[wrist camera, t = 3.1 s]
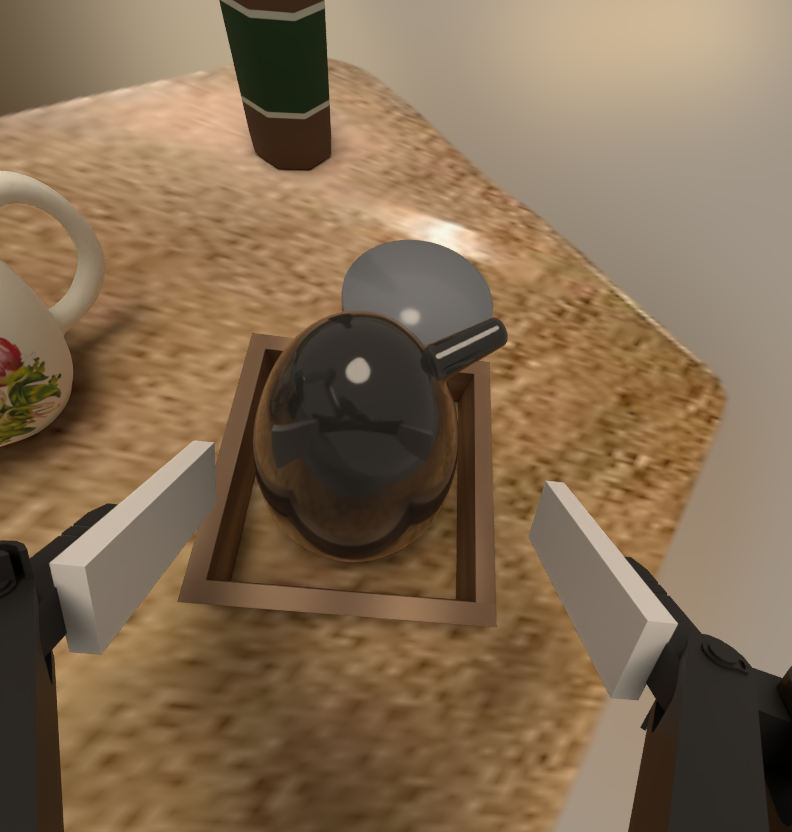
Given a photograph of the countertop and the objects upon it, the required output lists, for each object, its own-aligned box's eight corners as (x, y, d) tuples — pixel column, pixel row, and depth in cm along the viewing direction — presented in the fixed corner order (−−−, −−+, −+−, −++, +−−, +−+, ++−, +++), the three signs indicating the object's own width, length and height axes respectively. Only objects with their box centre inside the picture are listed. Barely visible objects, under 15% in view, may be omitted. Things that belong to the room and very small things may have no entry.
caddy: (207, 599, 21) (177, 602, 18) (265, 366, 27) (252, 333, 24) (473, 620, 22) (496, 627, 19) (472, 390, 28) (489, 362, 25)
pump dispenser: (463, 526, 24) (609, 448, 10) (302, 594, 22) (215, 610, 8) (402, 390, 28) (452, 197, 14) (257, 436, 25) (142, 256, 11)
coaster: (332, 356, 28) (331, 350, 28) (352, 238, 33) (352, 230, 32) (491, 375, 29) (494, 370, 28) (488, 257, 34) (490, 250, 33)
